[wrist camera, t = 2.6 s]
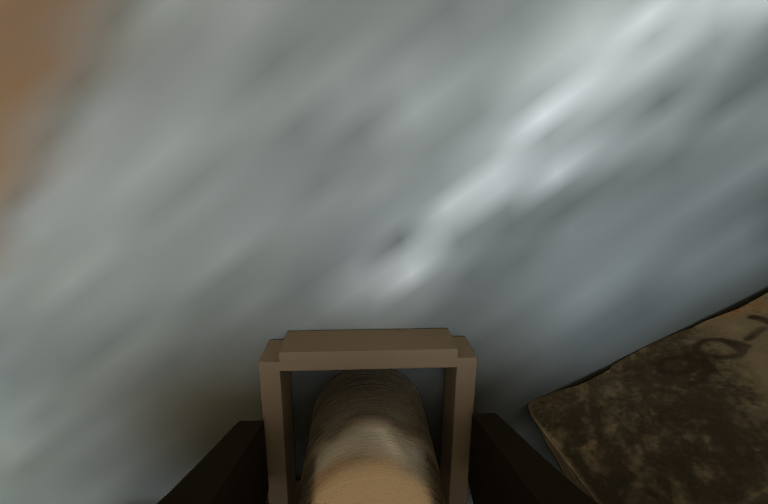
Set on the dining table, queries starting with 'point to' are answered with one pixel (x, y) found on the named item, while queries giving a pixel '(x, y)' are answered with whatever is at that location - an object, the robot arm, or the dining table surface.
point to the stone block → (671, 418)
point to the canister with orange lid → (370, 444)
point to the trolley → (367, 354)
